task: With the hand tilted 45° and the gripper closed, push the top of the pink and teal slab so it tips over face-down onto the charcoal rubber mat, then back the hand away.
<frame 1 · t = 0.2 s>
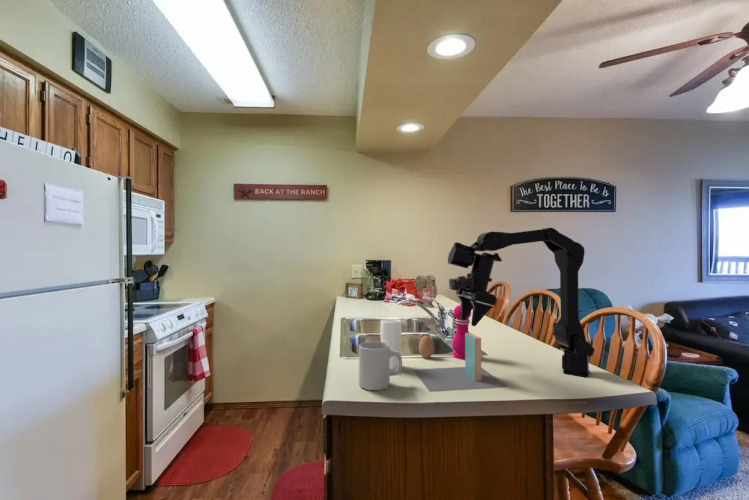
hand: (467, 322, 105), 16 cm above the countertop, tool tilted 15°, fingers open, 9 cm apart
egg: (426, 358, 122), on the countertop
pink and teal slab: (473, 376, 102), resting on charcoal rubber mat
white cylinder: (390, 368, 111), on the countertop
pepper mill: (462, 358, 122), on the countertop
mug: (380, 385, 97), on the countertop
charcoal rubber mat: (457, 378, 101), on the countertop
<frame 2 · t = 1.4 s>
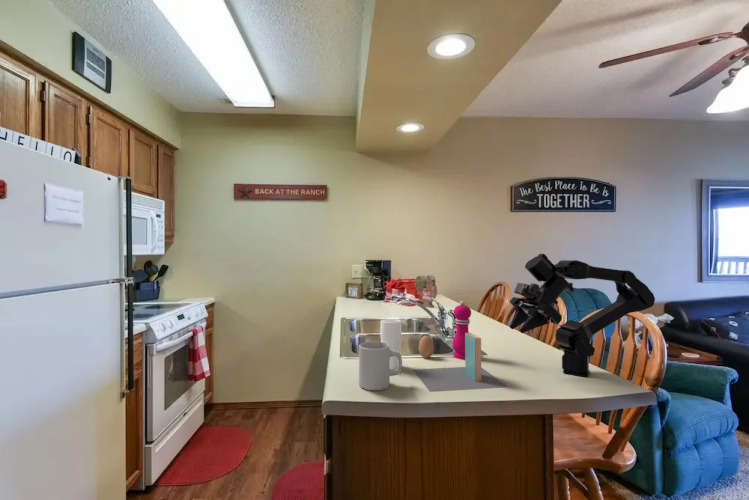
hand: (515, 330, 104), 14 cm above the countertop, tool tilted 45°, fingers open, 5 cm apart
nothing on the countertop moved.
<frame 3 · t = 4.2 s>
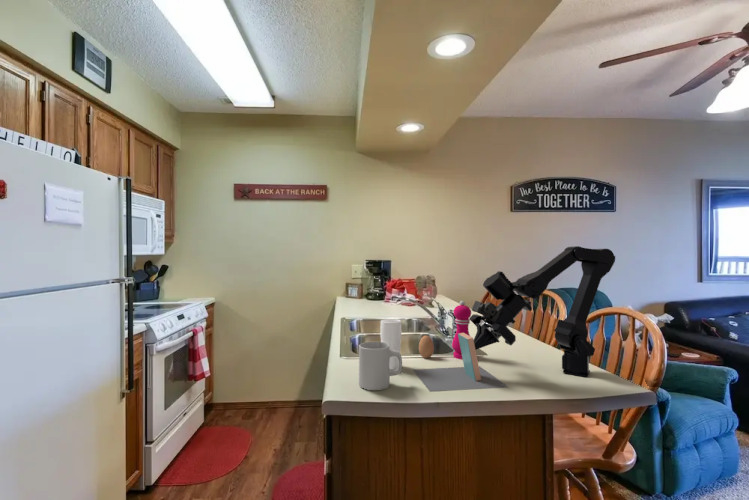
hand: (471, 349, 102), 8 cm above the countertop, tool tilted 45°, fingers closed
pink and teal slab: (473, 376, 102), point 1 cm above the countertop, tilted 11°, touching charcoal rubber mat
everything else where it was.
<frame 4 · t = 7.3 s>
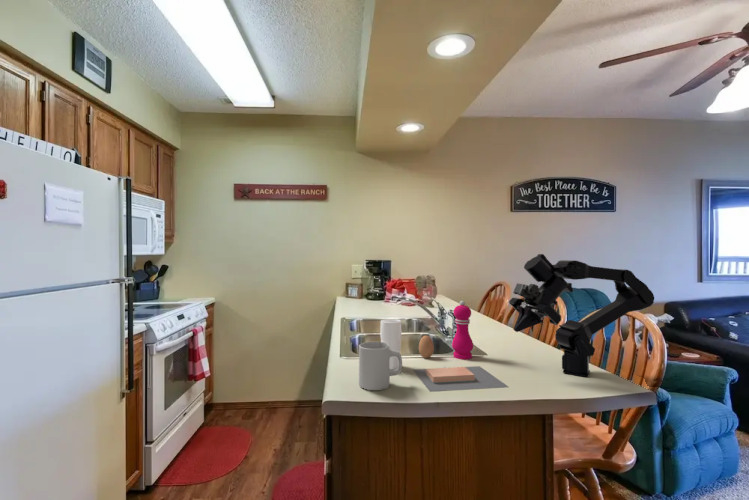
hand: (515, 330, 104), 13 cm above the countertop, tool tilted 45°, fingers closed
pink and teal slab: (469, 373, 102), point 1 cm above the countertop, tilted 90°, touching charcoal rubber mat
everything else where it was.
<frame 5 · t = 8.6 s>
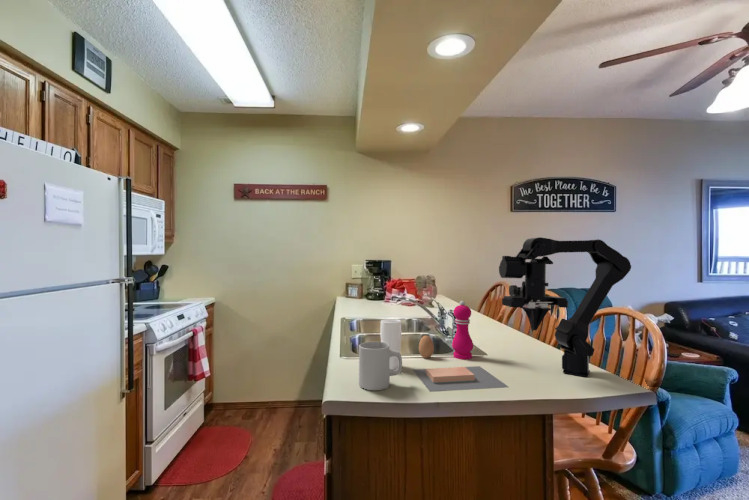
hand: (534, 330, 106), 13 cm above the countertop, tool pointing down, fingers closed
nothing on the countertop moved.
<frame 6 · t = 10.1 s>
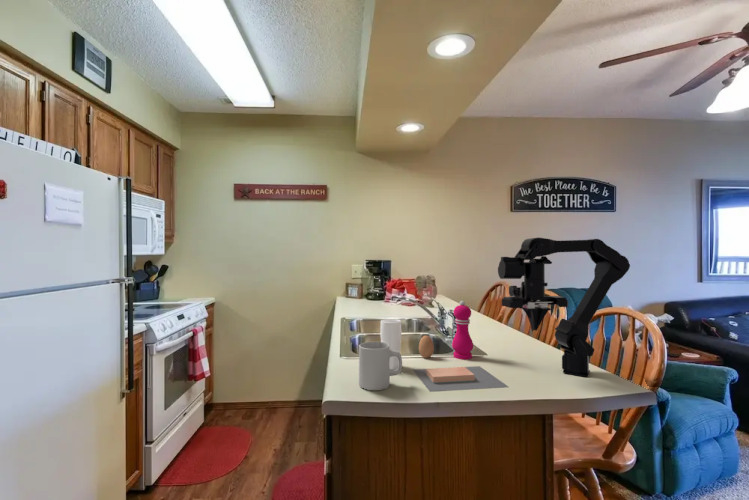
hand: (534, 330, 106), 13 cm above the countertop, tool pointing down, fingers closed
nothing on the countertop moved.
at the end: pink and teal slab tilted 90°; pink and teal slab inside the target area (1.7 cm from its centre), point 1.3 cm above the countertop; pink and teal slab touching charcoal rubber mat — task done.
